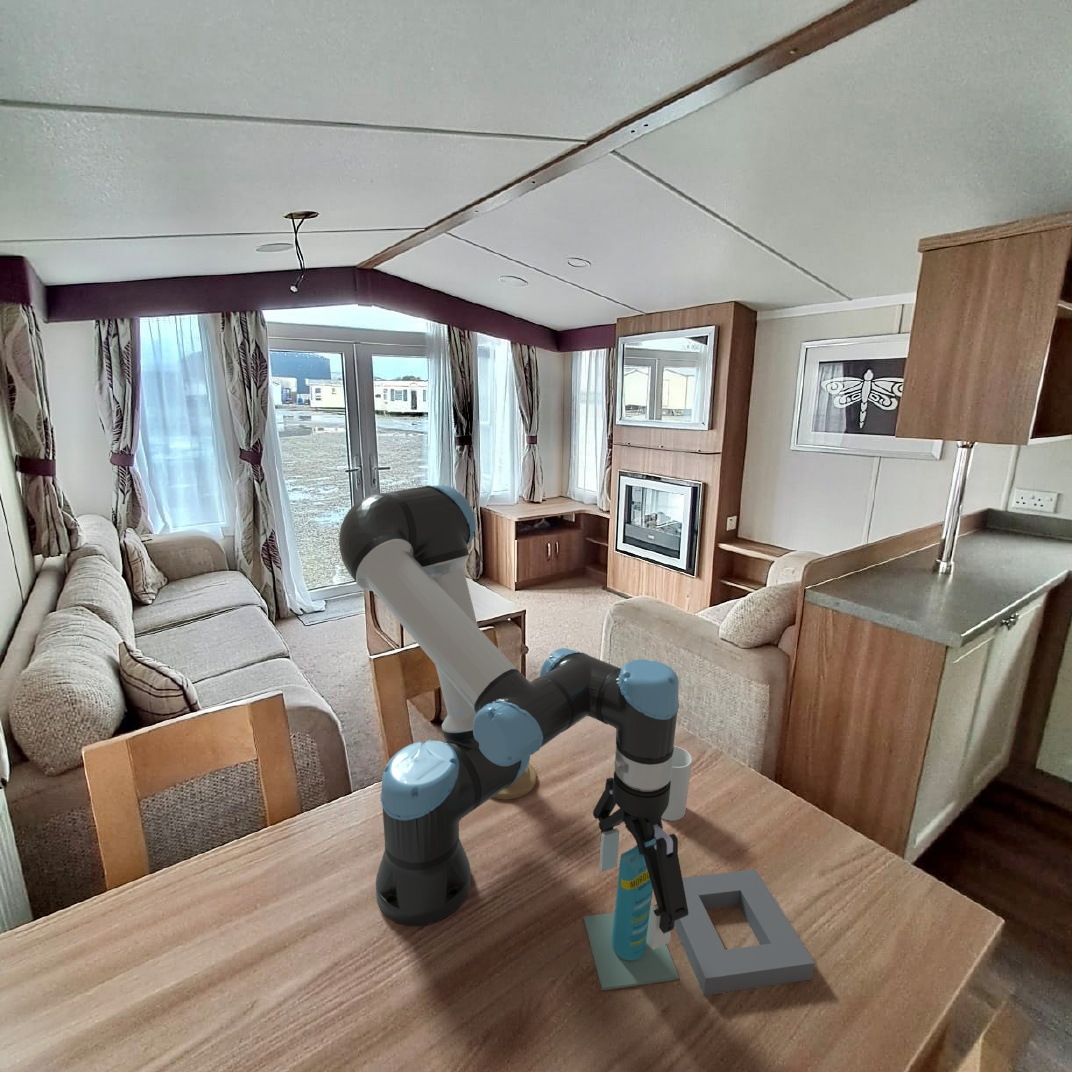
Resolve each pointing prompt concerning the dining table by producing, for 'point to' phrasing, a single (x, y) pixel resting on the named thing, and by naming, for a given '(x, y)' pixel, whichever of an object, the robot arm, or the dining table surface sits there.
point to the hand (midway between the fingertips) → (632, 903)
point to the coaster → (620, 971)
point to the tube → (632, 905)
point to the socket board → (743, 966)
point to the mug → (678, 785)
